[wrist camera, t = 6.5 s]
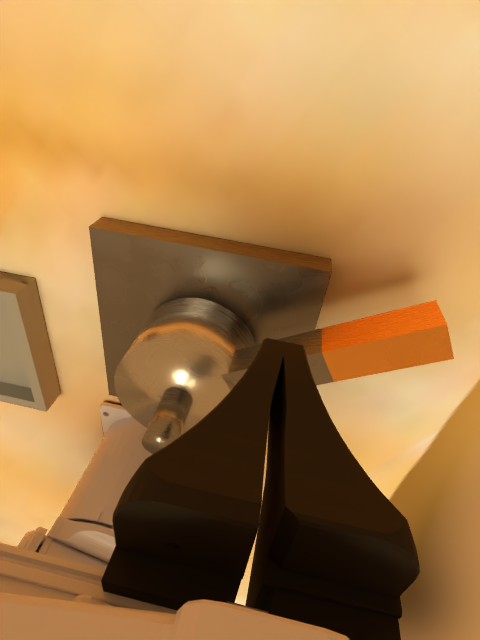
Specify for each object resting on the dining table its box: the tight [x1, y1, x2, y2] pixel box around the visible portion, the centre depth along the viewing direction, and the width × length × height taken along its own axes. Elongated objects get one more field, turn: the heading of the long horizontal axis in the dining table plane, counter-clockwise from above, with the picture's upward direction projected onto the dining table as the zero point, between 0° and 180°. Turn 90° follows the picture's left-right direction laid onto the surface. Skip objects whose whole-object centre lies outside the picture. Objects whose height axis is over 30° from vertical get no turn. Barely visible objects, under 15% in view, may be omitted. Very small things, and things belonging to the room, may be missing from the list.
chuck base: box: [89, 217, 332, 430], centre depth 24 cm, size 13×13×2 cm
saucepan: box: [114, 298, 454, 454], centre depth 19 cm, size 16×7×7 cm, turn 114°
